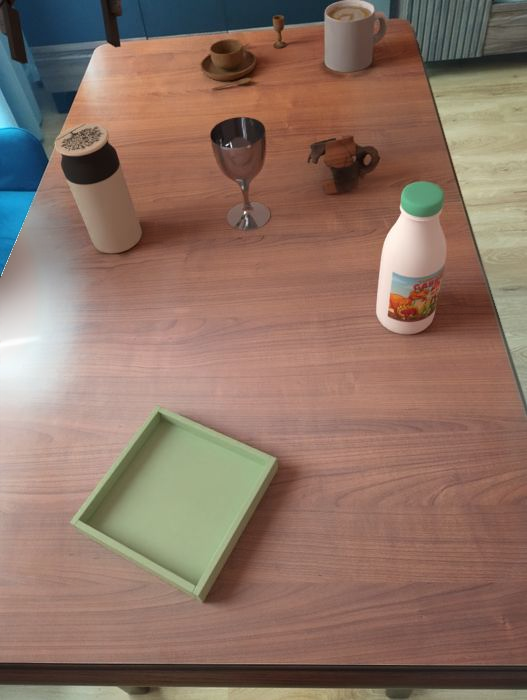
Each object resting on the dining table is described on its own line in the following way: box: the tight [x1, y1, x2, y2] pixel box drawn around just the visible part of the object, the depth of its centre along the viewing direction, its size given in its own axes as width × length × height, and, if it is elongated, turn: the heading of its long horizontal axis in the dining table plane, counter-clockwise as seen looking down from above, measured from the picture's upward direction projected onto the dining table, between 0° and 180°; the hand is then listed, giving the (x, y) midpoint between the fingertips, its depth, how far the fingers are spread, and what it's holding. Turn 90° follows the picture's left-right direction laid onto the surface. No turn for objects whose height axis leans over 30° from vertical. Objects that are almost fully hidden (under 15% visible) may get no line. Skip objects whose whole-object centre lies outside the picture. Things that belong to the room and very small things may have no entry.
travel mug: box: [54, 122, 143, 254], centre depth 87 cm, size 8×8×18 cm
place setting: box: [200, 14, 287, 90], centre depth 124 cm, size 18×20×6 cm
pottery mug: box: [306, 135, 381, 195], centre depth 97 cm, size 12×10×8 cm
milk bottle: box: [375, 180, 448, 335], centre depth 71 cm, size 8×8×20 cm
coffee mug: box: [324, 0, 388, 73], centre depth 120 cm, size 13×10×10 cm
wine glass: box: [209, 116, 271, 231], centre depth 89 cm, size 8×8×15 cm
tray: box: [69, 404, 279, 604], centre depth 64 cm, size 16×16×2 cm
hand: (66, 53), depth 77 cm, fingers open, 13 cm apart
